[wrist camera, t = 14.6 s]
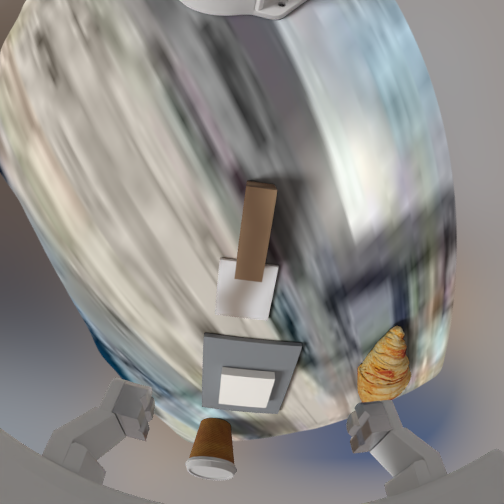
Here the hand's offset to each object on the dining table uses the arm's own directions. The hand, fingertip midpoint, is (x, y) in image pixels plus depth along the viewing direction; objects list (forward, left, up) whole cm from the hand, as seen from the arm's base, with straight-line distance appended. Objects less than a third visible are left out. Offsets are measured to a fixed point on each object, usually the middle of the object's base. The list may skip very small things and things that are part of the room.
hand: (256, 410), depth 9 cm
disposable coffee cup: (+32, +29, -24) cm, 49 cm away
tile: (+14, +17, -22) cm, 31 cm away
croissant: (-2, +33, -24) cm, 41 cm away
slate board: (+17, +20, -24) cm, 35 cm away
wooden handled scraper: (+3, +3, -24) cm, 24 cm away
